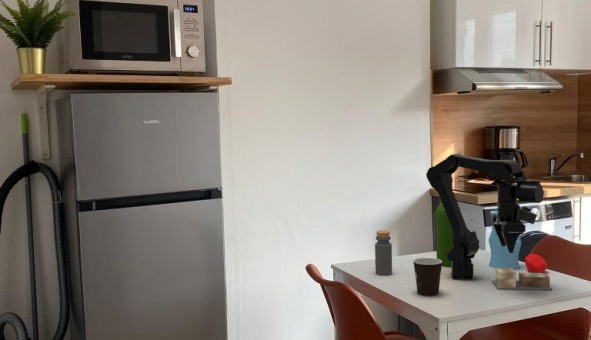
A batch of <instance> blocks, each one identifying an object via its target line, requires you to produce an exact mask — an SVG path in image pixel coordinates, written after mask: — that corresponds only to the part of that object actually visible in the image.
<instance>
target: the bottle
mask: <svg viewBox="0 0 591 340" xmlns="http://www.w3.org/2000/svg"><path fill="white" fill-rule="evenodd" d="M375 233H376V236H375V240H377V242H376V243H375V244H374V256H375V257H374V263H375V265H374V267H375V269H374V271H375V275H378V276H382V277H383V276H391V275H392V274H393V252H392V251H393V246H392V245H393V244H392V243H391V242H390V240H391V236H390V233H391V232H390V231H389V230H376V231H375Z"/></svg>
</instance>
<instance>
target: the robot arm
mask: <svg viewBox="0 0 591 340" xmlns="http://www.w3.org/2000/svg"><path fill="white" fill-rule="evenodd" d="M459 167H460V168H463V169H469V170H474V171H479V172H484V173H487V174H488V175H489V176H491V177H494V178H495V179H494V180H493V182H491V183H490V185H491V186H496V187H497V202H495V206H496V207H497V211H498V213H494V214H493V215H492V216H491V215H490V222H491V224H492V225H493V227H494V229H495V232H496V234H497V236H498V238H499V241H500V243H501V246H507V249H508V251H509V253H513V251H514V248H515V244H516V241H517V238H518V237H521V236H522V235H524V234H525V233H526V224H525V223H523V222H522V221H525V222H527V223H529V224H531V225H534V224H535V222H536V219H537V217H538V214H537V213H535V212H532V211H530V208H529V207H527V206H522V207H521V206H520V204H518V201H519V202H524V203H534V204H541V203H542V202H543V200H544V196H545V191H544V188H543V186H542V184H541V180H538V179H537V180H536V179H535V180H529V179H528V178H527V177H526V176H525V174H524V173H523V171H522V170H521V165H520V163H518V161H517V160H514V159H499V160H498V159H495V160H492V159H486V158H482V157H475V156H468V155H464V154H460V153H452V154H449V156H448V157H446V158H445V159H443V160H442V161H440V162H439V163H436V164H435V165H434V166H431V167H429V168H428V170H427V171H426V173H425V174H426V180H427V182H428V183H429V184H430V186H431V188H433V190H434V191H435V192H436V193H437V194H438V196H439V199H440V203H441V202H442V205H443V207H444V210H445V213H446V215H447V218H448V221H449V223H450V226H451V229H452V231H453V237H452V244H453V249H452V250H451V251H450V252H449V253H448V254H447V257H448V260H449V261H451V267H450V269H451V273H450V276H451V278H452V280H473V279H474V278H473V277H474V263H473V262H472V259H474V258H475V256H476V254H477V253H478V251H479V249H480V243H481V241H480V240H479V239H478V236H477V232H476V231H475V230H474V231H471V230H470V229H469V228H468V227H467V224H466V222H465V220H464V217H463V214H462V211H461V208H460V206H459V203H458V201H457V198H456V196H455V193H454V190H453V180H454V179H453V176H452V175H453V174H454V173H456V171H457V170H458V168H459ZM492 225H491V226H492Z"/></svg>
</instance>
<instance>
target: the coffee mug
mask: <svg viewBox="0 0 591 340" xmlns="http://www.w3.org/2000/svg"><path fill="white" fill-rule="evenodd" d="M412 263H413V268H414V276H415V277H414V278H415V284H416V292H417V294H418V295H420V296H425V297H434V296H438V295H439V293H440V285H441V284H440V283H441V275H442V267H443V266H442V261H441V260H439V259H437V258H434V257H420V258H419V257H418V258H415V259H413V261H412Z"/></svg>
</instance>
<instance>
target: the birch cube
mask: <svg viewBox="0 0 591 340" xmlns="http://www.w3.org/2000/svg"><path fill="white" fill-rule="evenodd" d="M495 281H496V284H497V286H498V287H499V288H516V281H517V272H516V271H515V270H513V269H512V268H495Z"/></svg>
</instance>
